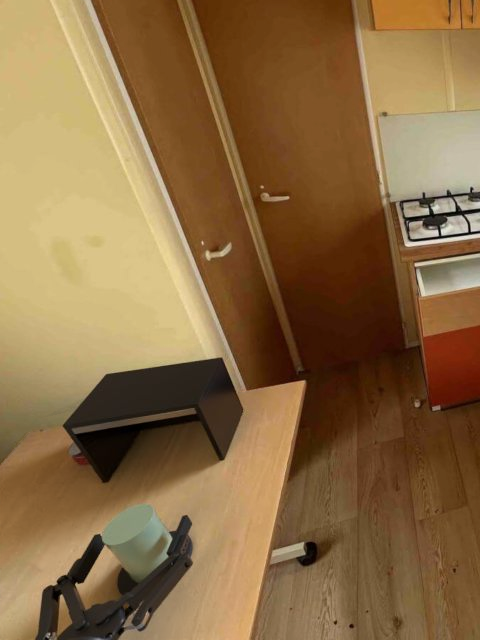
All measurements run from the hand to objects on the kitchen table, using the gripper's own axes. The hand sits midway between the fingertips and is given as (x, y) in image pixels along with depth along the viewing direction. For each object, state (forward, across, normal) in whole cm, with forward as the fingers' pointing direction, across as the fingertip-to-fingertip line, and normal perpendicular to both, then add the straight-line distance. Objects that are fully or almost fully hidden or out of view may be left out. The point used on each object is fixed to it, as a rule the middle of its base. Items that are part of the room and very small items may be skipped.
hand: (145, 528), depth 76 cm
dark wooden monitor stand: (+27, -7, -8) cm, 29 cm away
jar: (-2, 0, -7) cm, 7 cm away
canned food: (+30, -25, -8) cm, 40 cm away
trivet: (-2, 0, -8) cm, 8 cm away
